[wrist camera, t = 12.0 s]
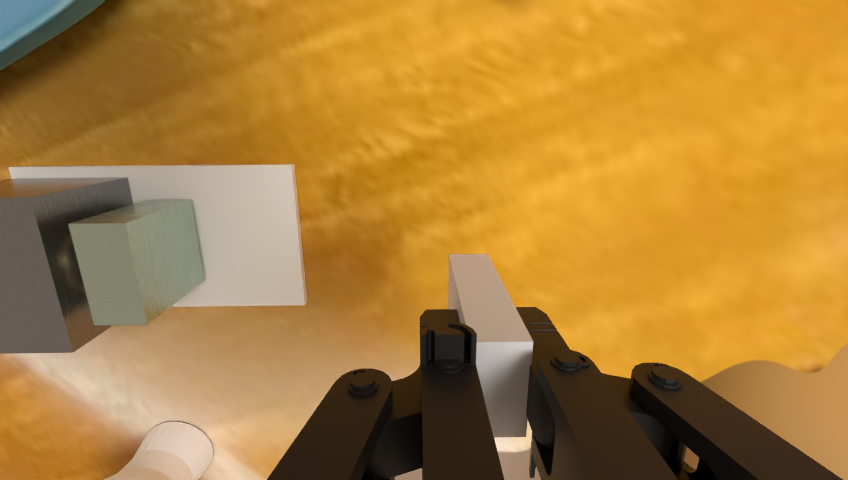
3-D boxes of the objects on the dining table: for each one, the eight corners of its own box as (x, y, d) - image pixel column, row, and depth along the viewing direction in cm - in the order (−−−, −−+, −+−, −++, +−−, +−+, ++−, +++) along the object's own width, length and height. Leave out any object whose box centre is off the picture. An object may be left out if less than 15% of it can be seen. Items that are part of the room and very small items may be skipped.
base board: (294, 163, 39) (291, 165, 38) (307, 300, 43) (304, 305, 42) (18, 165, 38) (8, 167, 37) (56, 304, 42) (48, 308, 41)
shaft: (191, 199, 38) (125, 223, 29) (204, 280, 40) (147, 324, 32) (-5, 201, 38) (-129, 225, 29) (20, 282, 40) (-89, 327, 31)
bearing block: (127, 177, 38) (30, 197, 28) (152, 297, 41) (73, 352, 32) (16, 178, 38) (-120, 198, 28) (51, 299, 41) (-60, 354, 32)
